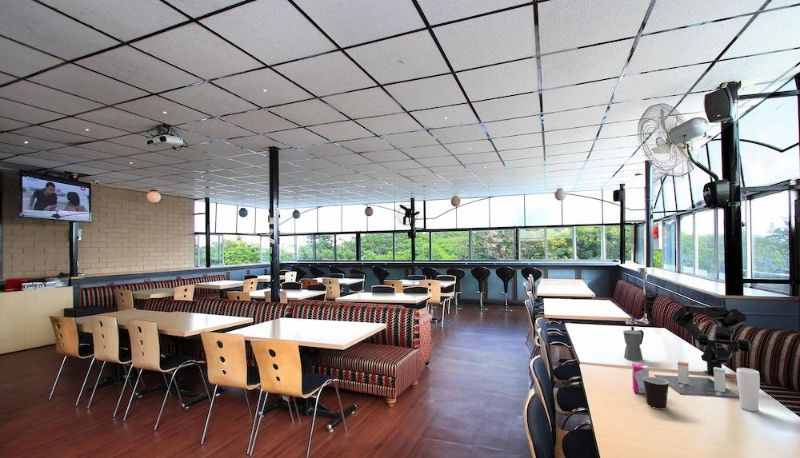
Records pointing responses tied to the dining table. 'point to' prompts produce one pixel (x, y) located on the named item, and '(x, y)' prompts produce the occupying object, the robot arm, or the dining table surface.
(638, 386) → the supplement box
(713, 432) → the dining table surface
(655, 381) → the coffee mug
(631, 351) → the coffeepot
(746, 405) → the white rounded cylinder
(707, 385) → the switch panel
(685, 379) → the terracotta slider
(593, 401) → the dining table surface
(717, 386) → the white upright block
